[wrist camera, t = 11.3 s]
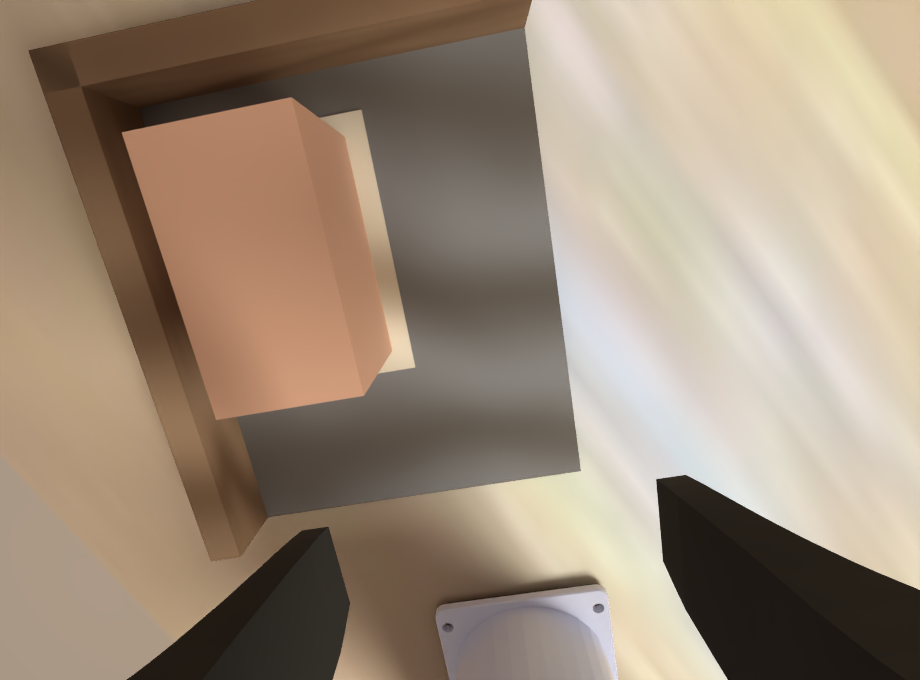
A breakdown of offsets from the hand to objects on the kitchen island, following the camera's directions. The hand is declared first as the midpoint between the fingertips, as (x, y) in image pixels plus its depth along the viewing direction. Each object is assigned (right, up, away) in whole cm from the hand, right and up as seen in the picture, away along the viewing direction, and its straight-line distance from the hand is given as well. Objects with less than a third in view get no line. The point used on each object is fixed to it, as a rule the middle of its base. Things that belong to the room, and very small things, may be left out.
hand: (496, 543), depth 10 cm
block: (-6, +7, +7) cm, 12 cm away
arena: (-5, +6, +8) cm, 11 cm away
